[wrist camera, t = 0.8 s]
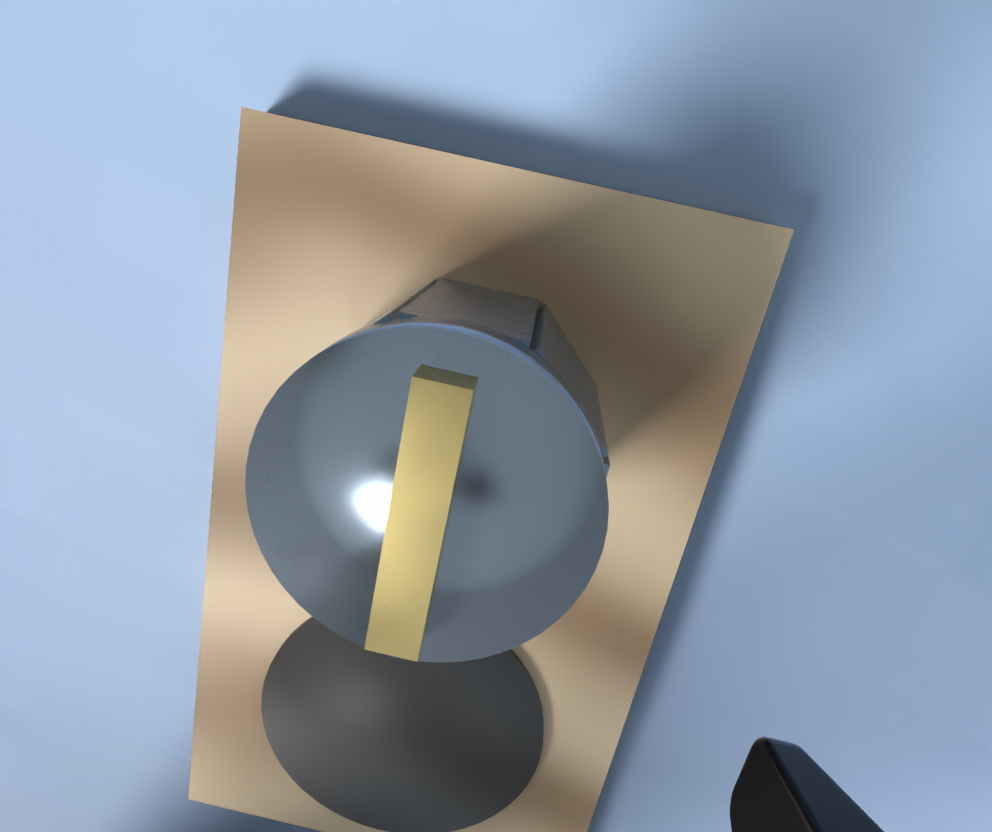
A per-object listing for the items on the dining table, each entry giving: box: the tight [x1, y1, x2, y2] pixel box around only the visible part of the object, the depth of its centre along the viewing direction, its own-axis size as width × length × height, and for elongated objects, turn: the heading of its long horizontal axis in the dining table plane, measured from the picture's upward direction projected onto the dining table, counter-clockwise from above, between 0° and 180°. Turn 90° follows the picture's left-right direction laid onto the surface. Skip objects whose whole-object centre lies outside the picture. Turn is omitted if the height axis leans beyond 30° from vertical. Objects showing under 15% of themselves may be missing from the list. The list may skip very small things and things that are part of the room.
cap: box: [245, 278, 610, 663], centre depth 13 cm, size 6×6×6 cm
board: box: [188, 107, 794, 832], centre depth 16 cm, size 20×12×5 cm, turn 168°
